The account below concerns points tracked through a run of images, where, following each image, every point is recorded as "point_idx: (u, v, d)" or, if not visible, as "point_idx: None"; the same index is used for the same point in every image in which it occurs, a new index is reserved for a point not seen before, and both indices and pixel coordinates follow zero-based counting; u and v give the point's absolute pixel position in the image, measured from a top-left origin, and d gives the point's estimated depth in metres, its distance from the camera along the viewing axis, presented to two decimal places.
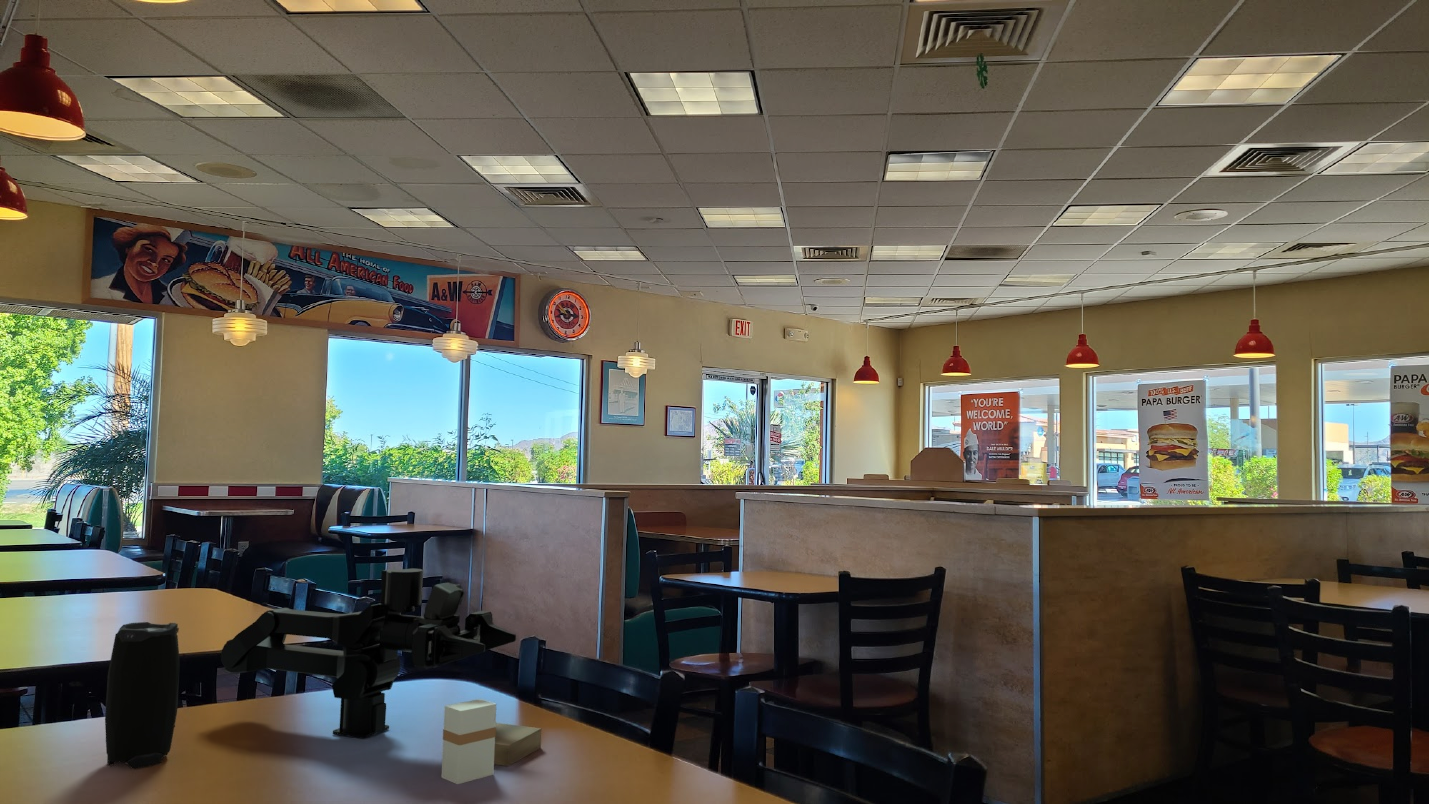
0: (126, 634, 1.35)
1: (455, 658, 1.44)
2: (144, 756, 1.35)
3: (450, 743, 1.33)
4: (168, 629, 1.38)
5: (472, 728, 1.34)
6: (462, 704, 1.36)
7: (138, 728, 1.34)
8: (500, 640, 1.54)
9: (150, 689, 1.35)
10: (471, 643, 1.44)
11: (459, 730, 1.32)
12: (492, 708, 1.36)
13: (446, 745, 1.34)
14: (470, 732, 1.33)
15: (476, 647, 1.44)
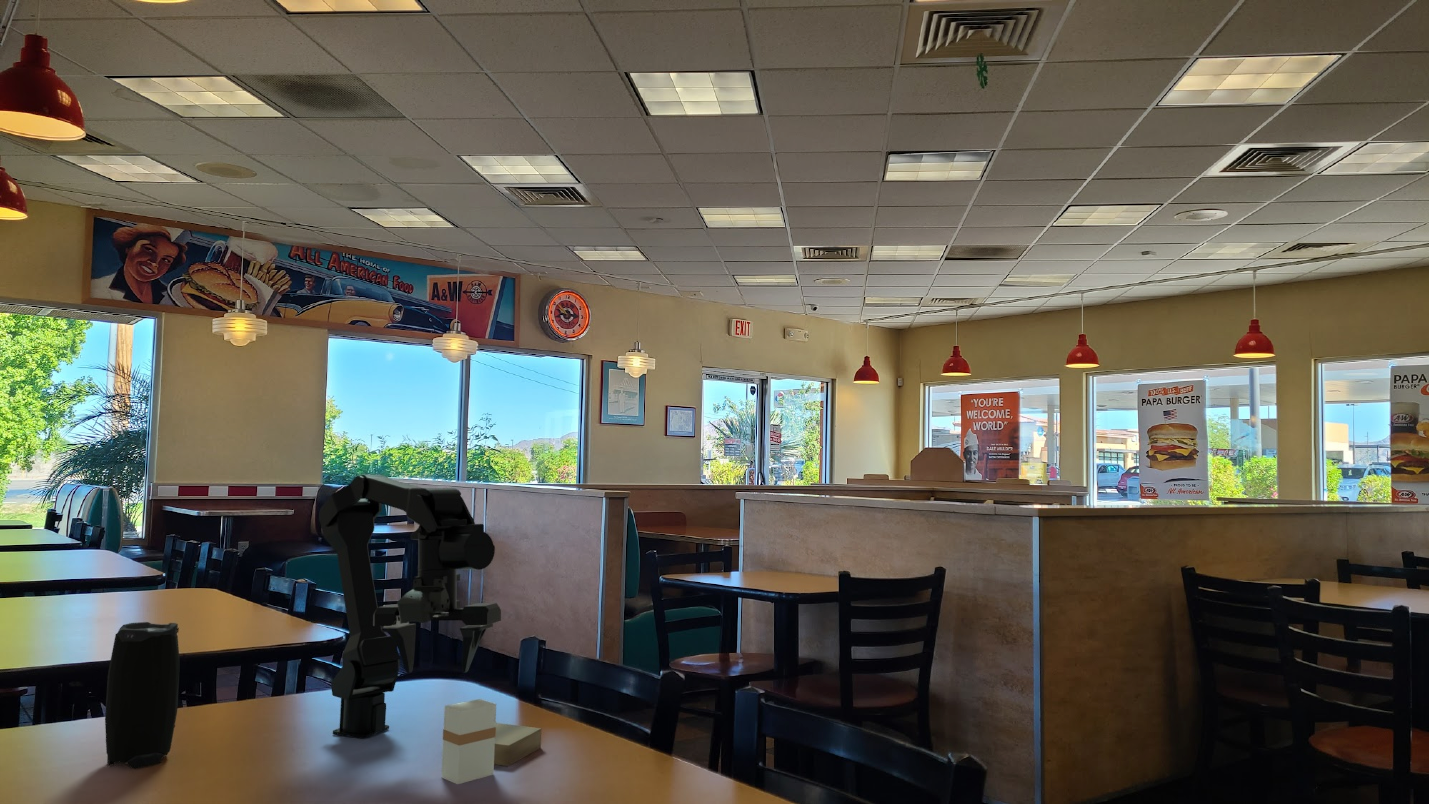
0: (126, 634, 1.35)
1: None
2: (144, 756, 1.35)
3: (450, 743, 1.33)
4: (168, 629, 1.38)
5: (472, 728, 1.34)
6: (462, 704, 1.36)
7: (138, 728, 1.34)
8: None
9: (150, 689, 1.35)
10: None
11: (459, 730, 1.32)
12: (492, 708, 1.36)
13: (446, 745, 1.34)
14: (470, 732, 1.33)
15: None
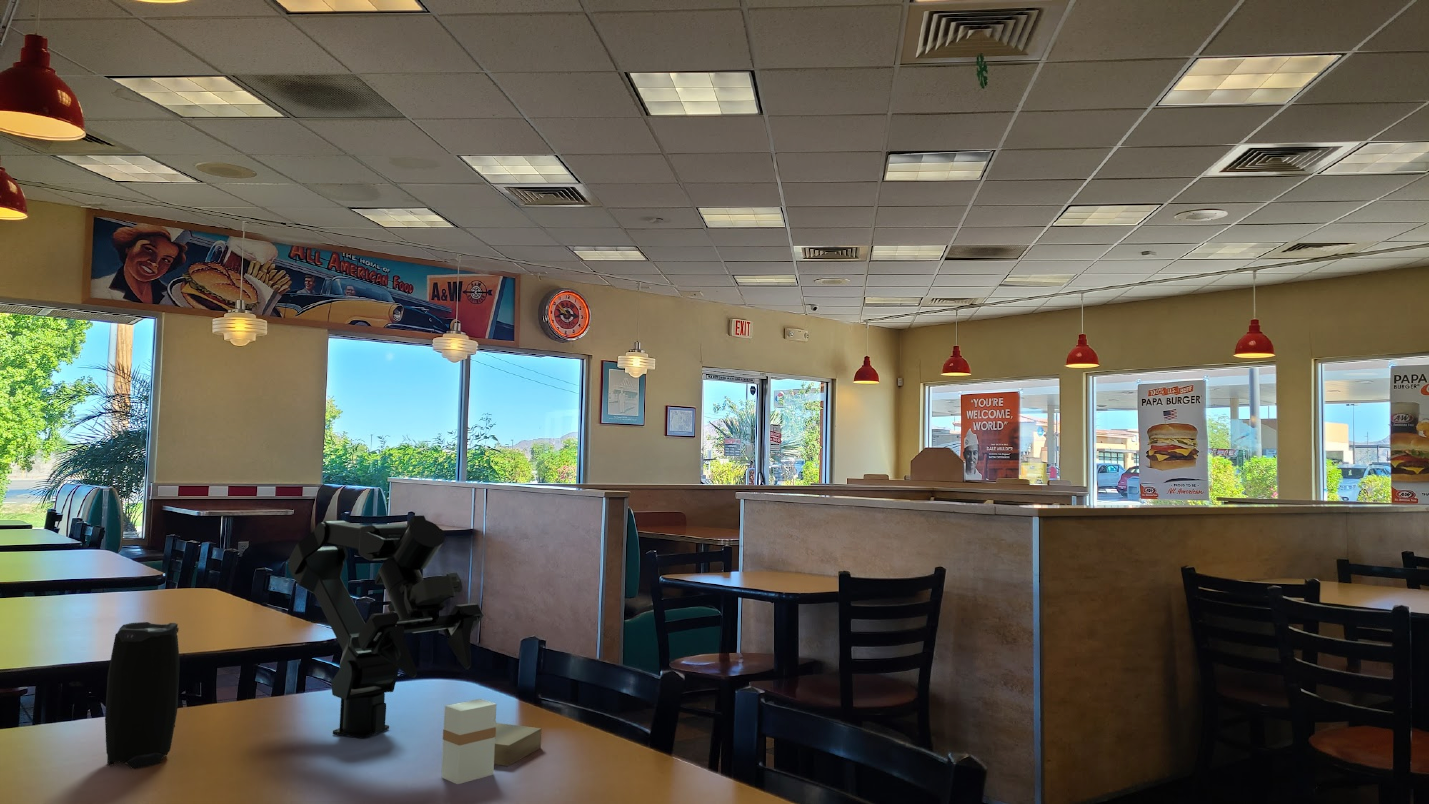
0: (126, 634, 1.35)
1: (391, 661, 1.39)
2: (144, 756, 1.35)
3: (450, 743, 1.33)
4: (168, 629, 1.38)
5: (472, 728, 1.34)
6: (462, 704, 1.36)
7: (138, 728, 1.34)
8: (460, 655, 1.46)
9: (150, 689, 1.35)
10: (407, 663, 1.38)
11: (459, 730, 1.32)
12: (492, 708, 1.36)
13: (446, 745, 1.34)
14: (470, 732, 1.33)
15: (409, 670, 1.38)
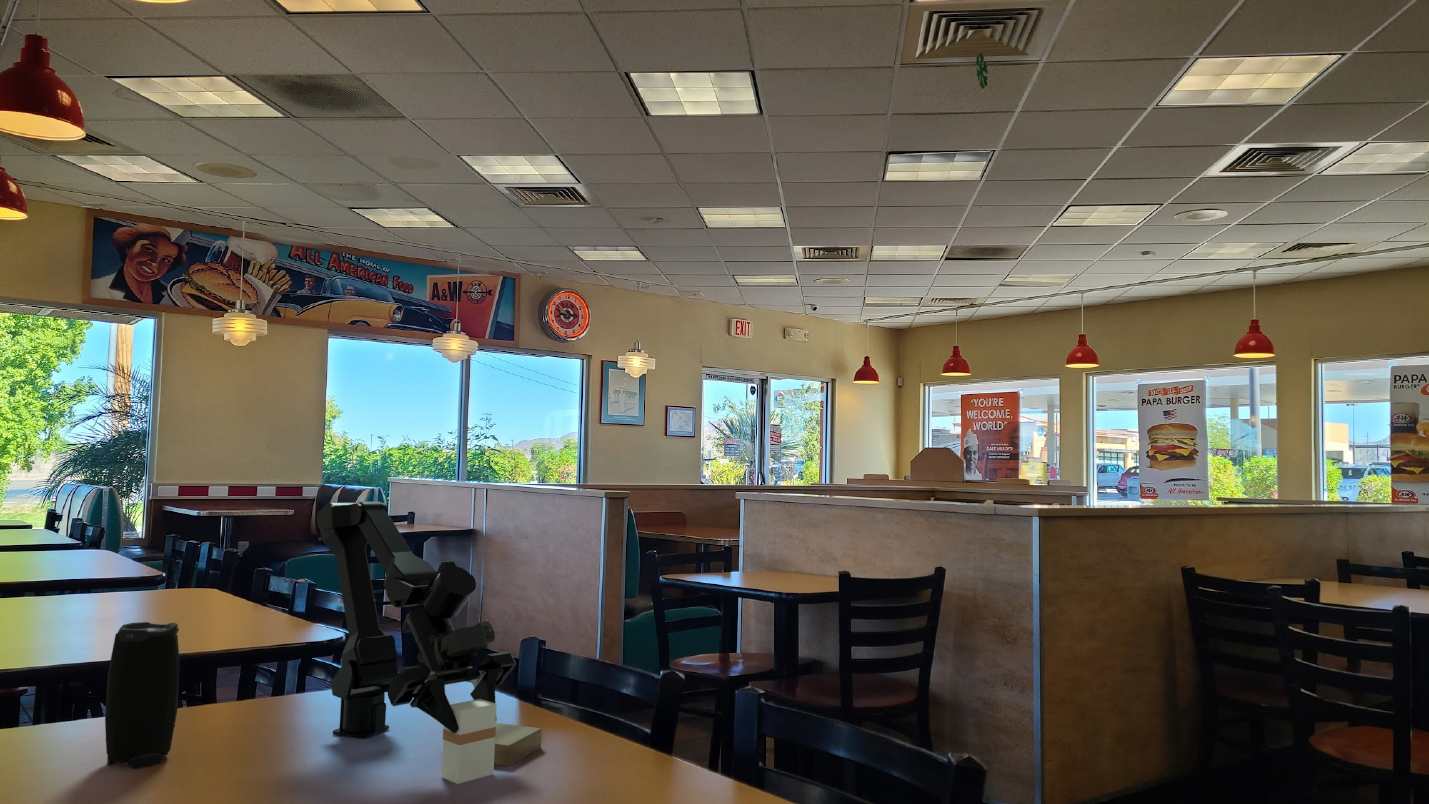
0: (126, 634, 1.35)
1: (431, 714, 1.34)
2: (144, 756, 1.35)
3: (450, 743, 1.33)
4: (168, 629, 1.38)
5: (472, 728, 1.34)
6: (462, 704, 1.36)
7: (138, 728, 1.34)
8: None
9: (150, 689, 1.35)
10: (449, 718, 1.32)
11: (459, 730, 1.32)
12: (492, 708, 1.36)
13: (446, 745, 1.34)
14: (470, 732, 1.33)
15: (451, 724, 1.33)
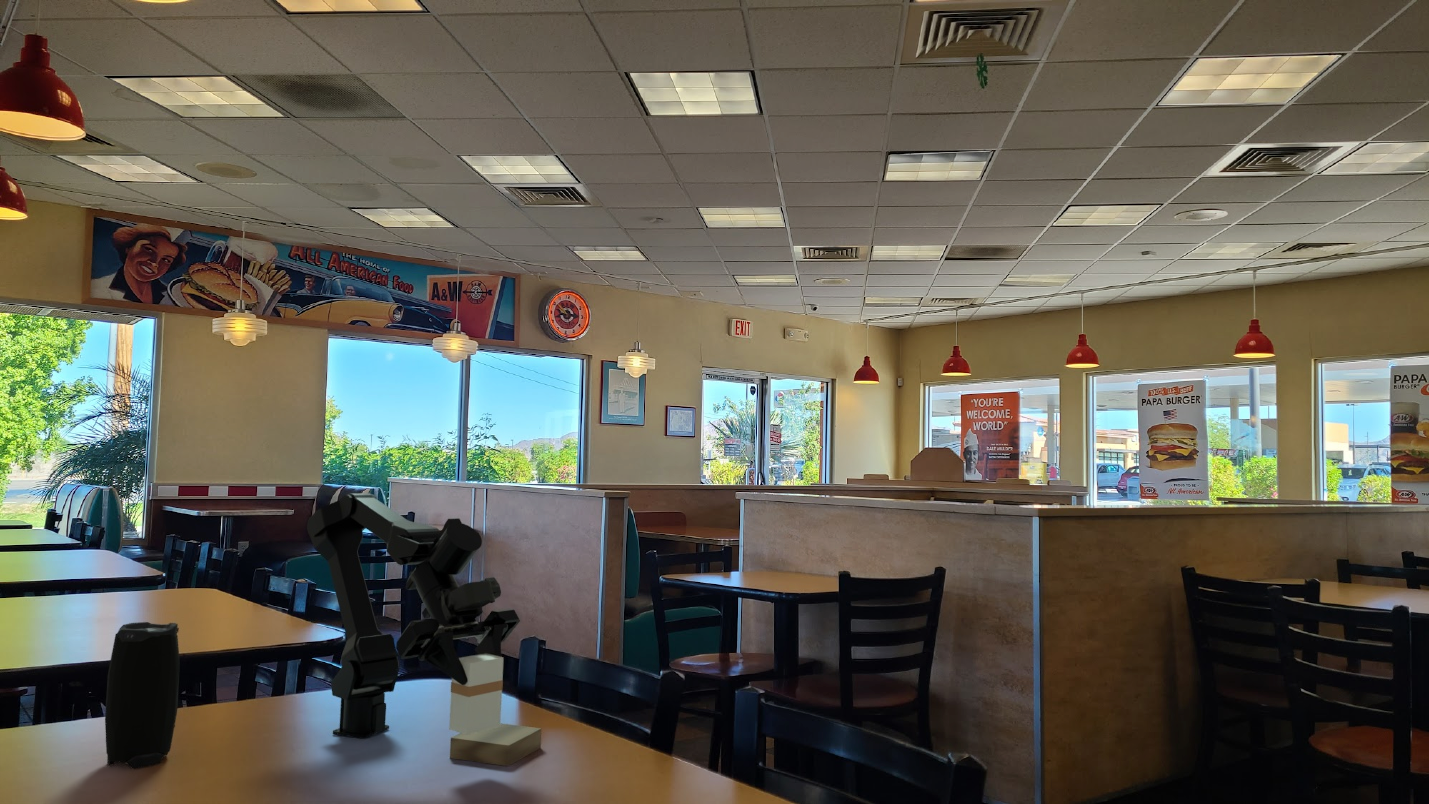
0: (126, 634, 1.35)
1: (440, 667, 1.36)
2: (144, 756, 1.35)
3: (459, 695, 1.35)
4: (168, 629, 1.38)
5: (480, 680, 1.36)
6: (470, 657, 1.38)
7: (138, 728, 1.34)
8: None
9: (150, 689, 1.35)
10: (458, 670, 1.34)
11: (468, 682, 1.34)
12: (499, 661, 1.38)
13: (454, 697, 1.36)
14: (479, 684, 1.35)
15: (460, 677, 1.34)
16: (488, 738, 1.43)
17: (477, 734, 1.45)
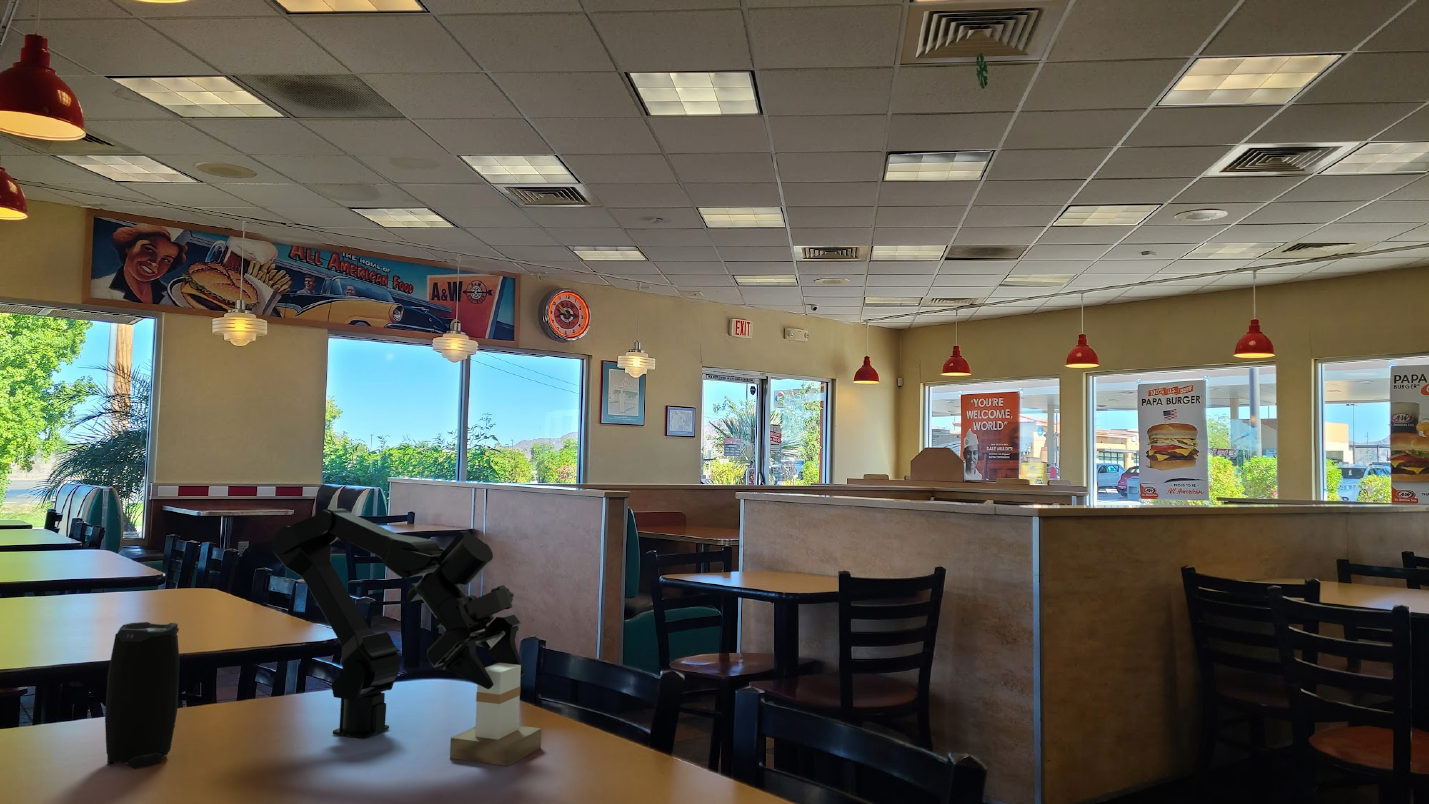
0: (126, 634, 1.35)
1: (462, 674, 1.42)
2: (144, 756, 1.35)
3: (487, 703, 1.44)
4: (168, 629, 1.38)
5: (507, 688, 1.45)
6: (491, 667, 1.47)
7: (138, 728, 1.34)
8: None
9: (150, 689, 1.35)
10: (484, 675, 1.42)
11: (499, 690, 1.43)
12: (518, 669, 1.49)
13: (481, 706, 1.44)
14: (506, 691, 1.45)
15: (485, 681, 1.42)
16: (488, 738, 1.43)
17: None
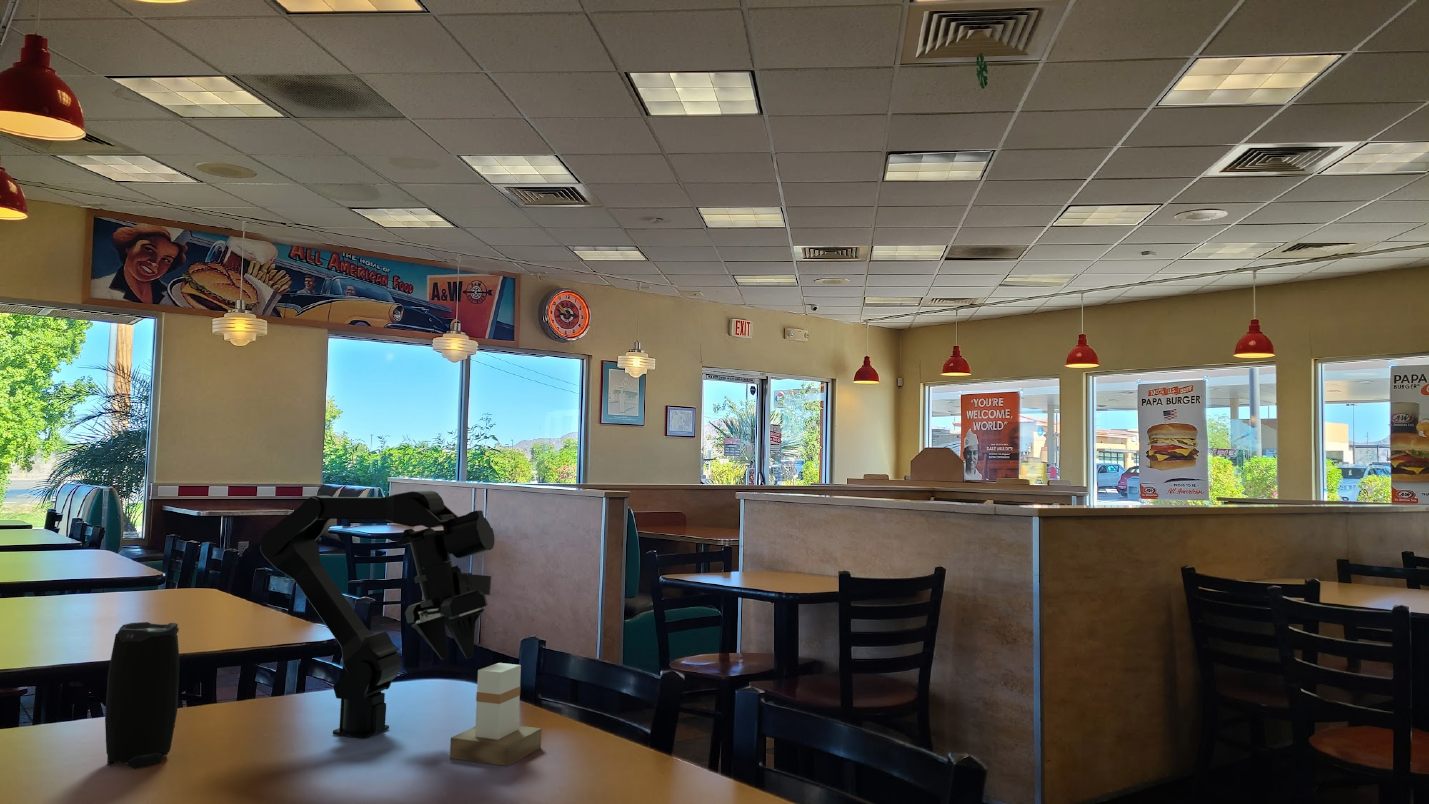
0: (126, 634, 1.35)
1: (458, 635, 1.49)
2: (144, 756, 1.35)
3: (487, 703, 1.44)
4: (168, 629, 1.38)
5: (507, 688, 1.45)
6: (491, 667, 1.47)
7: (138, 728, 1.34)
8: (438, 644, 1.57)
9: (150, 689, 1.35)
10: (472, 644, 1.51)
11: (499, 690, 1.43)
12: (518, 669, 1.49)
13: (481, 706, 1.44)
14: (506, 691, 1.45)
15: (469, 650, 1.50)
16: (488, 738, 1.43)
17: None
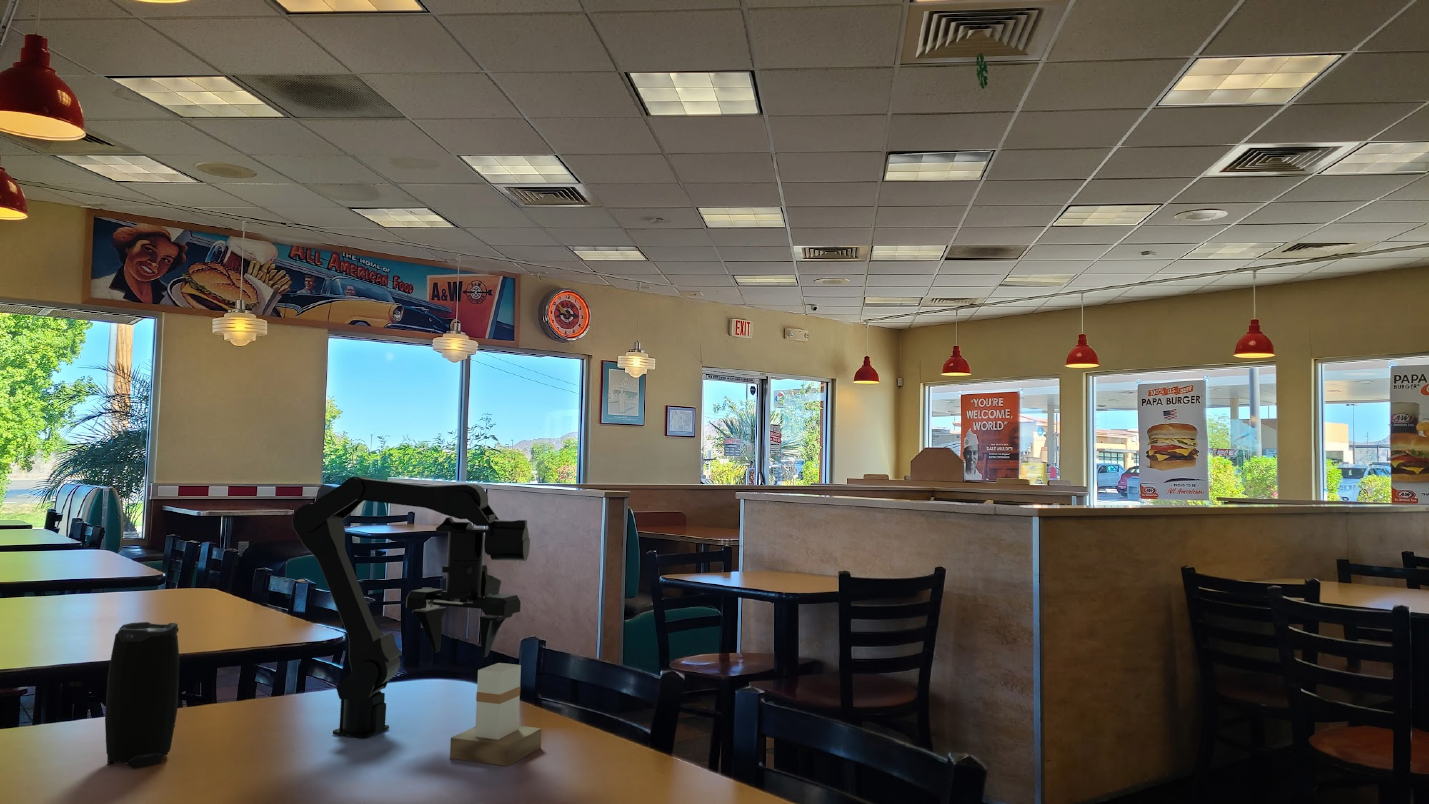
0: (126, 634, 1.35)
1: (488, 633, 1.53)
2: (144, 756, 1.35)
3: (487, 703, 1.44)
4: (168, 629, 1.38)
5: (507, 688, 1.45)
6: (491, 667, 1.47)
7: (138, 728, 1.34)
8: (435, 636, 1.57)
9: (150, 689, 1.35)
10: (491, 645, 1.55)
11: (499, 690, 1.43)
12: (518, 669, 1.49)
13: (481, 706, 1.44)
14: (506, 691, 1.45)
15: (487, 650, 1.55)
16: (488, 738, 1.43)
17: None
